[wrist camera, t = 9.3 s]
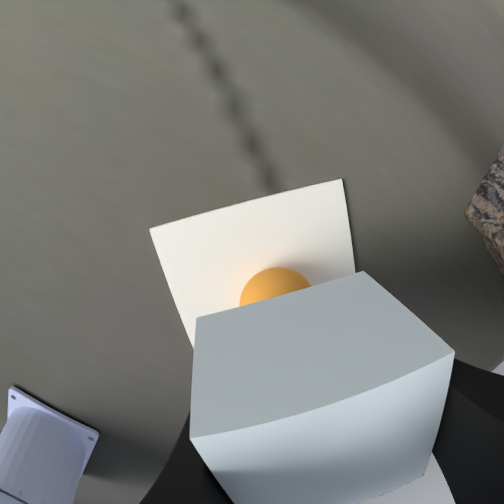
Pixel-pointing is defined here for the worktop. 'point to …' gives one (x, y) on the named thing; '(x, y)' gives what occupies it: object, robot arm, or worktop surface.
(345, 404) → the white box
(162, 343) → the worktop surface
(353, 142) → the worktop surface
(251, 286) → the ball
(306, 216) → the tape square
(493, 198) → the stone block
